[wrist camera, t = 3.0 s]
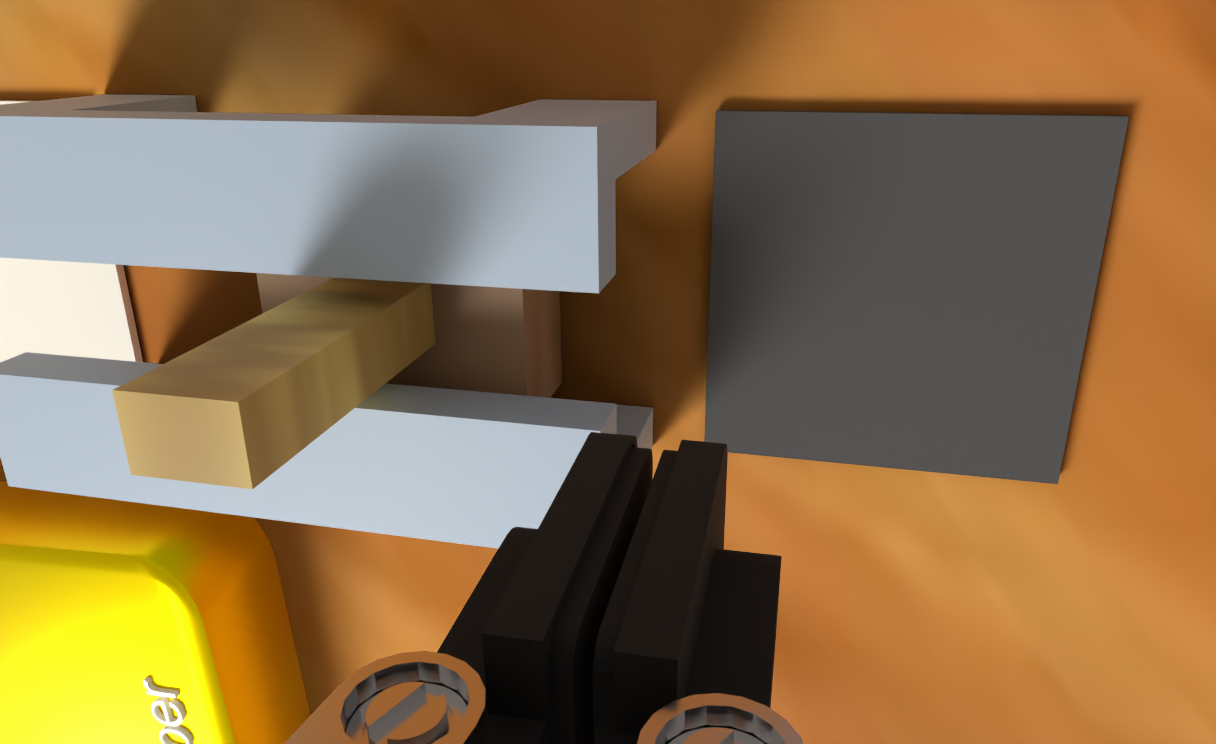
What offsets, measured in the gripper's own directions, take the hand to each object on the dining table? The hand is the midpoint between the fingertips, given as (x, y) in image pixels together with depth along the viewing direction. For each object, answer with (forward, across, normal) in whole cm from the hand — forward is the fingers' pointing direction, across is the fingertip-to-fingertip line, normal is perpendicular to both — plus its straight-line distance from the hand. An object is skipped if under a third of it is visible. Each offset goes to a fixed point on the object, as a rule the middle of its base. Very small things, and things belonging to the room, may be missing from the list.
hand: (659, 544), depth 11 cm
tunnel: (+13, +10, +1) cm, 17 cm away
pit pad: (+13, -4, +1) cm, 14 cm away
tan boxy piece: (+13, +8, +1) cm, 16 cm away
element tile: (+14, +22, +17) cm, 31 cm away
